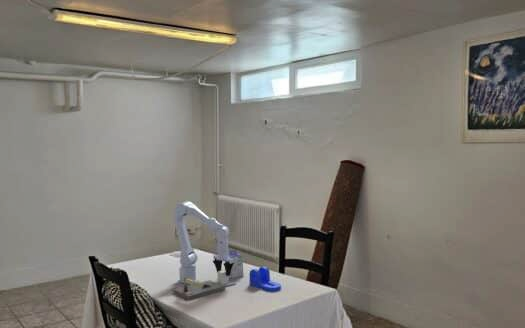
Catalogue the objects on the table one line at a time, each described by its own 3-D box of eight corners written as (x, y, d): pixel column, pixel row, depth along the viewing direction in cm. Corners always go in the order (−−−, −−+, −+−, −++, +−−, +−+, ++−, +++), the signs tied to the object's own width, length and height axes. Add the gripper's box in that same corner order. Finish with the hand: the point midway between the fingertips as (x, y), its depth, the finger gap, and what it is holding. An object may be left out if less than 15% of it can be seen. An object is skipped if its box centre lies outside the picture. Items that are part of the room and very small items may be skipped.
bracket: (249, 285, 253) (249, 268, 252) (261, 281, 258) (261, 265, 258) (272, 292, 239) (272, 275, 239) (284, 289, 245) (283, 272, 244)
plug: (217, 283, 254) (216, 271, 254) (226, 280, 259) (226, 268, 258) (222, 285, 251) (222, 273, 250) (232, 282, 255) (231, 270, 255)
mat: (212, 284, 255) (212, 283, 255) (225, 280, 261) (225, 279, 261) (221, 288, 248) (221, 287, 248) (235, 284, 254) (235, 283, 254)
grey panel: (173, 293, 241) (173, 288, 241) (209, 283, 256) (209, 279, 255) (188, 300, 231) (188, 295, 231) (225, 289, 245) (224, 285, 245)
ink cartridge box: (240, 273, 273) (240, 249, 272) (244, 276, 268) (243, 251, 267) (224, 276, 269) (223, 251, 269) (227, 278, 264) (226, 253, 264)
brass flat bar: (186, 289, 239) (186, 277, 239) (204, 296, 229) (203, 283, 229) (183, 290, 238) (182, 278, 238) (200, 297, 228) (200, 284, 227)
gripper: (208, 248, 256) (209, 273, 256) (225, 252, 245) (226, 278, 246) (219, 246, 261) (219, 270, 261) (236, 250, 250) (236, 275, 251)
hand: (223, 274), depth 254 cm, fingers open, 7 cm apart
